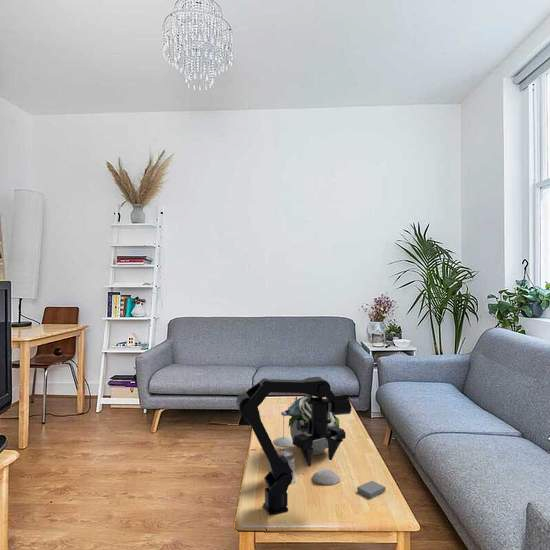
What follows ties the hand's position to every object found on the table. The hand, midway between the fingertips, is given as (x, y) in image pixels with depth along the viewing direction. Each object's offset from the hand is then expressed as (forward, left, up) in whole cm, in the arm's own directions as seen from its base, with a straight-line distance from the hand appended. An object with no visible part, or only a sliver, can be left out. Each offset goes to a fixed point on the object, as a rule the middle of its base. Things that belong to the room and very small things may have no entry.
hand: (319, 463), depth 140 cm
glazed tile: (+17, -1, -12) cm, 21 cm away
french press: (-5, +19, -13) cm, 24 cm away
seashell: (+10, +14, -14) cm, 22 cm away
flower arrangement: (+18, +39, -13) cm, 45 cm away
